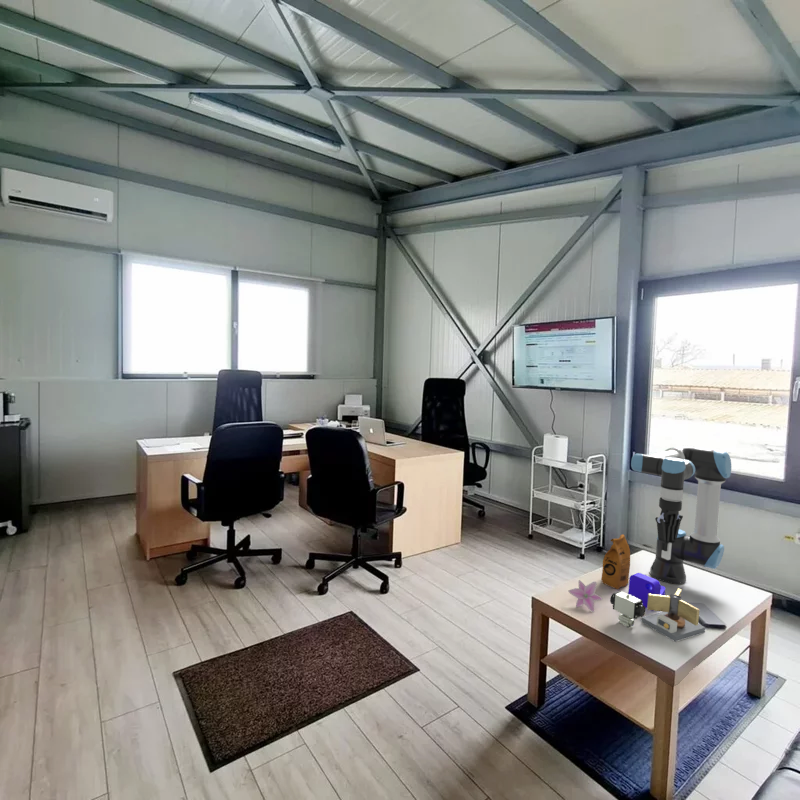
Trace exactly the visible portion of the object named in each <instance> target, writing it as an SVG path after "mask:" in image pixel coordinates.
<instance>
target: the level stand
mask: <svg viewBox="0 0 800 800" xmlns="http://www.w3.org/2000/svg"><path fill="white" fill-rule="evenodd" d="M665 614H668V612H662V611H658V612H656V613H652V614H648V615H644V616H643V617H641V623H642V624H644V625H646V626H648V627H649V628H651V629H652V630H654V631H656V632H657V633H659V634H661V635H663V636H665V637H666V638H667V639H670V640H672V641H673V642H678V641H682V640H685V639H688V638H692V637H694V636H699V635H701V634H704V633H705V632H706V626H703V625H701V624H699V623H698V625H694V624H692V623H690V622H689V621H687V620H685V619H684V620H685V627H684V628H677V622H675V621H674V620H672V619H670V618H668V617H666V616H664V615H665Z"/></svg>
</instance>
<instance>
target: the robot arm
mask: <svg viewBox="0 0 800 800" xmlns="http://www.w3.org/2000/svg"><path fill="white" fill-rule="evenodd" d="M731 459H732V458H731V457H730V454H729V453H728V452H727V451H724V450H719V449H714V448H705V447H697V446H692V445H690V446H688V445H685V446H684V445H682V446H676V447H670V448H667V449H665V450H664V451H660V452H656V453H651V454H645V453H634V454H633V455H632V457H631V461H630V467H631V469H632V470H633V471H635V472H638V473H643V474H648V475H649V474H650V475H655V476H659V477H660V479H661V480H660V491H659V496H660V497H659V499H658V500H659V502H658V506H659V508H660V513H659V514H660V515H659V517H655V522H656V529H657V536H656V546H655V547H656V548H655V558H654V560H653V563H652V564H651V566H650V569H649V570H650V571H649V574H650V575H651V576H652V578H654V579H656V580H658V581H662V582H663V583H664V582H665V583H669V584H674V585H675V584H676V585H677V584H678V585H679V584H681V585H683V584H685V583H686V581H687V574H686V571H685V566H684V562H688V563H691V564H695V565H697V566H701V567H703V568H708V569H711V570H713V569H714V570H715V569H717V568H718V567H719V566H720V564H721V561H722V559H723V557H724V552H725V546H724V544H722V543H721V539H720V537H719V536H718V534H717V533H718V524H719V508H720V501H721V487H722V484H724V483H726V479H729V478H731V474H732V460H731ZM693 476H694V479H696V480H697V492H696V493H697V495H696V506H695V519H694V528H693V529H694V531H692V532H690V534H689V535H687V532H686V531H685V530H683V529H680V526H681V523H682V520H683V517H684V516H683V515H681V514H680V513H679V512H680V511H682V508H683V501H682V500H683V499H684V497H683V496H684V484H685V483H684V482H685V481H686V480H688V479H691V478H692V477H693Z"/></svg>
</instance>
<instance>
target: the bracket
mask: <svg viewBox="0 0 800 800" xmlns="http://www.w3.org/2000/svg"><path fill="white" fill-rule="evenodd" d="M627 594H628V595H631V596H634V597H635V598H638V599H640V600H642V603H643V606H645V609H647V603H648V594H657V595H666V587H665V586H664V585H661V583H660V580H659V579H656V578H655V577H651V576H649V575H647V574H643V573H641V572H637V573H634V574H632V575H629V580H628V591H627ZM650 611H652V612H654V611H653V610H650Z"/></svg>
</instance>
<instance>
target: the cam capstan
mask: <svg viewBox="0 0 800 800" xmlns="http://www.w3.org/2000/svg"><path fill="white" fill-rule="evenodd" d="M646 609H647V610H648V611H651V610H653V611H652V612H668V614H665V615H664V616H666V617H668V618H670V619H672V620H674V621H675V622H677V628H684V627H685V620H687V621H689V622H690V623H692V624H694V625H698V624H699V620H700V619H699V618H700V608H697V607H696V606H694V605H692V604H691V603H688V602H686V601H685V600H682V588H677V590H676V591H675V593H674V594H673V593H671V594H669V595H666V594H665V595H657V594H648V603H647V608H646ZM684 619H685V620H684Z"/></svg>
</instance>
